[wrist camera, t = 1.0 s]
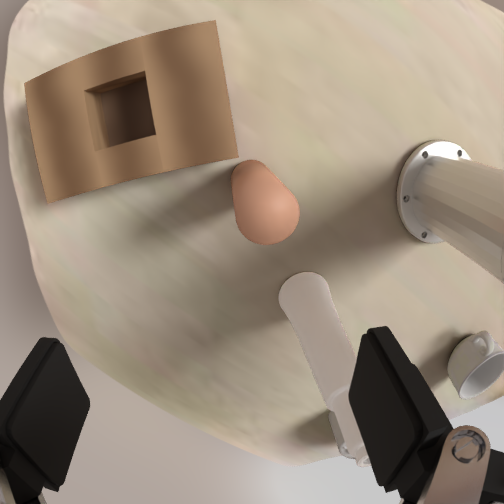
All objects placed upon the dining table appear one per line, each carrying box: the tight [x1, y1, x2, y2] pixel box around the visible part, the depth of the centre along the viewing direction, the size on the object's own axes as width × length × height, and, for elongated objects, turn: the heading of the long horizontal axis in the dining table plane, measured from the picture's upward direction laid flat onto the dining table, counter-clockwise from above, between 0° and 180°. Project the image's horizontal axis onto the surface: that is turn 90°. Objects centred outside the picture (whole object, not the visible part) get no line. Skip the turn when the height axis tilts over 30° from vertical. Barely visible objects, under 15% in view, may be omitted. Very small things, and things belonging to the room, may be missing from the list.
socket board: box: [24, 20, 239, 204], centre depth 24 cm, size 18×12×5 cm, turn 99°
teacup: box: [447, 331, 504, 399], centre depth 41 cm, size 14×11×8 cm
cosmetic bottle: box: [279, 272, 371, 467], centre depth 26 cm, size 6×6×22 cm
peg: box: [231, 160, 300, 245], centre depth 25 cm, size 4×4×12 cm
